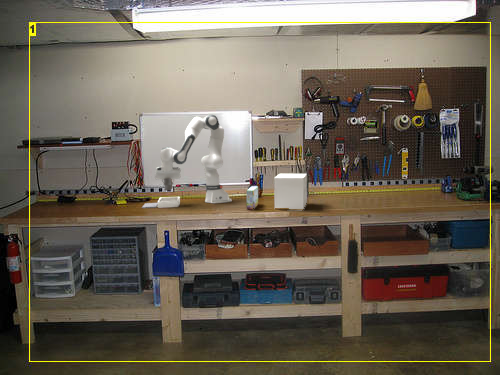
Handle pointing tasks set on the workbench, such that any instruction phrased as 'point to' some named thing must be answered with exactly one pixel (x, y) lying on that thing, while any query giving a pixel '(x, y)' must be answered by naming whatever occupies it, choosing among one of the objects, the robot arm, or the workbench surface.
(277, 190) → the cube
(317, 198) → the workbench surface
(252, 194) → the snack box
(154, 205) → the rubber mat
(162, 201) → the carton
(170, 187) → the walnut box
